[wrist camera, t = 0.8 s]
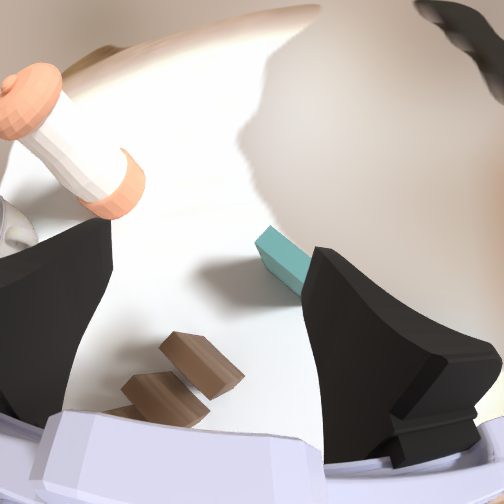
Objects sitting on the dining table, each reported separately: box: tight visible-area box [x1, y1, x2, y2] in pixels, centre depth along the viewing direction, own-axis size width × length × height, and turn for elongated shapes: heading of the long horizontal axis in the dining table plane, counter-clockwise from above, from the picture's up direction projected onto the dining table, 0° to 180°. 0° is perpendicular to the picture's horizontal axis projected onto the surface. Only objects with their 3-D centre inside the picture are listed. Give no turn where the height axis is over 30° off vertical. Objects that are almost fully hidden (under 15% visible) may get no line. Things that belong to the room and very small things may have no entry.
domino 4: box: [254, 226, 312, 297], centre depth 25 cm, size 2×5×7 cm, turn 48°
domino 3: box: [159, 331, 245, 400], centre depth 23 cm, size 2×5×7 cm, turn 47°
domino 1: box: [100, 405, 149, 422], centre depth 22 cm, size 2×5×7 cm, turn 47°
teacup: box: [0, 195, 38, 258], centre depth 30 cm, size 14×11×8 cm
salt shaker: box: [0, 63, 145, 220], centre depth 25 cm, size 7×7×19 cm
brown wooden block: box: [121, 371, 210, 428], centre depth 23 cm, size 2×5×7 cm, turn 47°
